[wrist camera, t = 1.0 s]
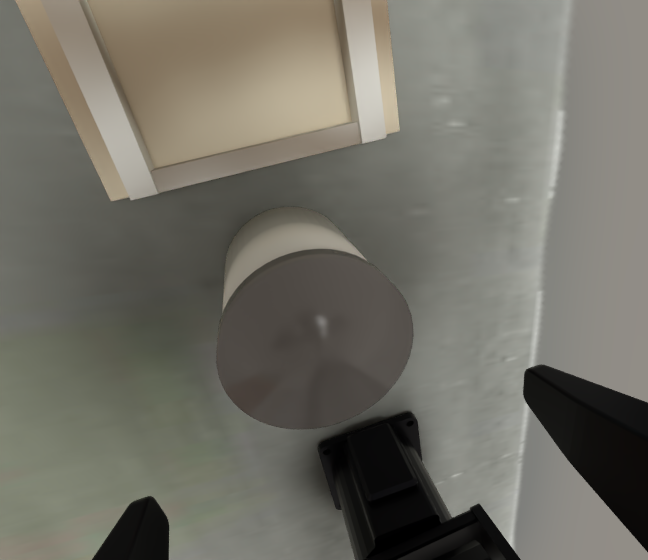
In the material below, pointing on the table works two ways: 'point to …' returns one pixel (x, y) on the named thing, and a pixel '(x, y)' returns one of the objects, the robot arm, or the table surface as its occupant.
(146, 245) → the table surface
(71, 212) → the table surface
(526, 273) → the table surface
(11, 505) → the table surface
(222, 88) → the lane
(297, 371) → the jar
